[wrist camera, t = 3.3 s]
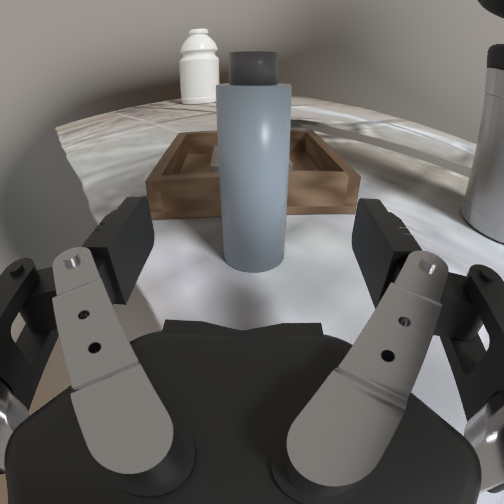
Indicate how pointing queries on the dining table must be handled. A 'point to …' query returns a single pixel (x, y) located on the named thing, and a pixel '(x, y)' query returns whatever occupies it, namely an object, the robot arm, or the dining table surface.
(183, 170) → the wooden box
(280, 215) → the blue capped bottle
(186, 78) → the bottle
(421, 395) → the dining table surface
